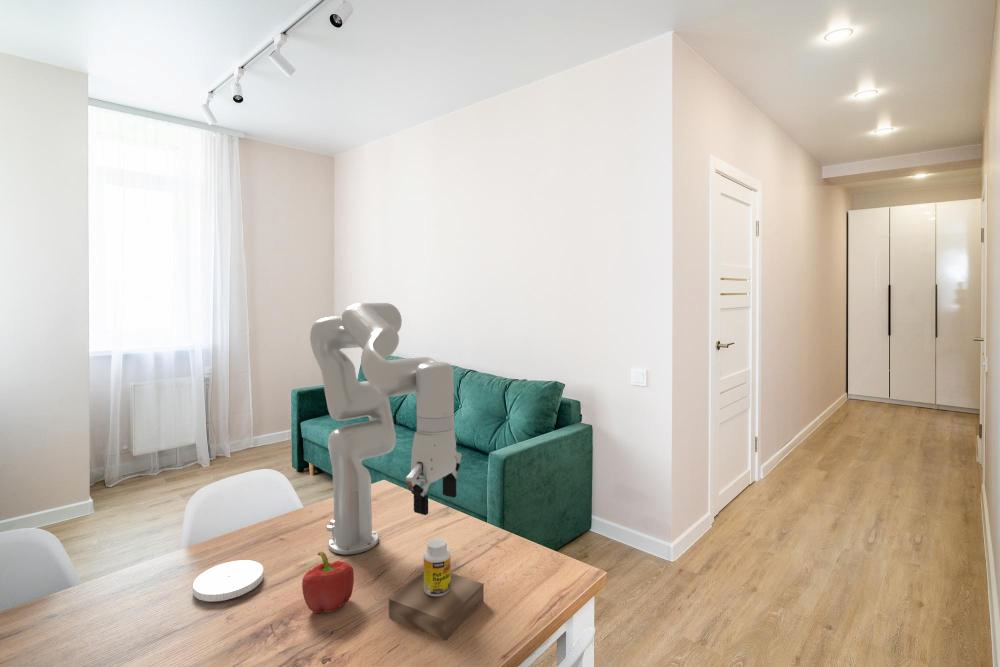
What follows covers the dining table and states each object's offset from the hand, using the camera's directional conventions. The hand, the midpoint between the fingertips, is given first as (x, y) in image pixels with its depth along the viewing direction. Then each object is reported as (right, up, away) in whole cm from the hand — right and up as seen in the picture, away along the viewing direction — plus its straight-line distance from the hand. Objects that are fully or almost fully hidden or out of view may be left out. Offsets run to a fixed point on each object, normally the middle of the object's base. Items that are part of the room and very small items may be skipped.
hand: (435, 504), depth 105 cm
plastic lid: (-48, -22, +10) cm, 54 cm away
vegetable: (-23, -22, +3) cm, 32 cm away
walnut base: (0, -22, +1) cm, 22 cm away
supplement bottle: (0, -18, +1) cm, 19 cm away
